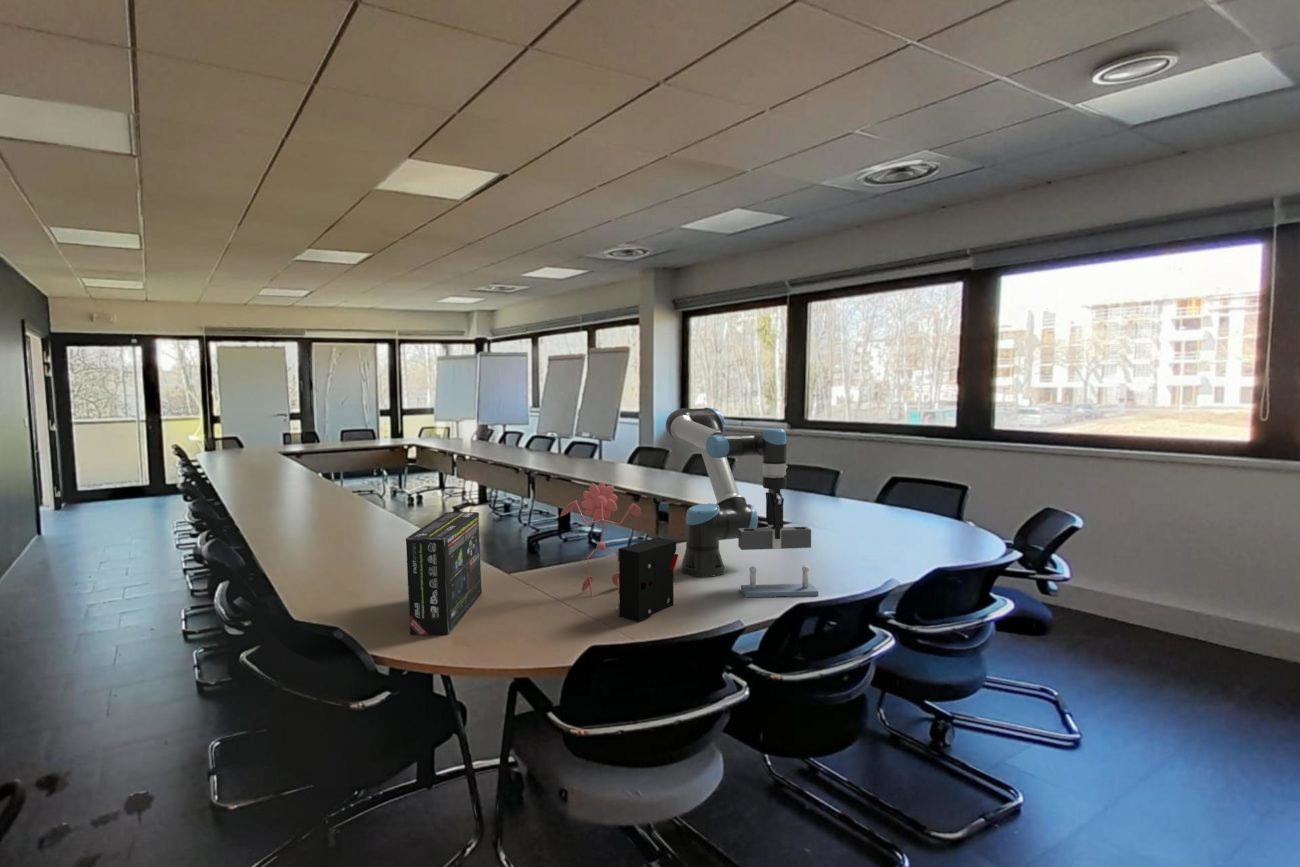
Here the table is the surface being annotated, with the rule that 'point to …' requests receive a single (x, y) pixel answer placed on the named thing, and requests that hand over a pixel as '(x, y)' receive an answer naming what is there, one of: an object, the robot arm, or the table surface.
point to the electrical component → (646, 578)
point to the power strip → (763, 538)
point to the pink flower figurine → (599, 507)
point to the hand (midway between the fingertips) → (774, 546)
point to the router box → (443, 572)
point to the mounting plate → (779, 587)
